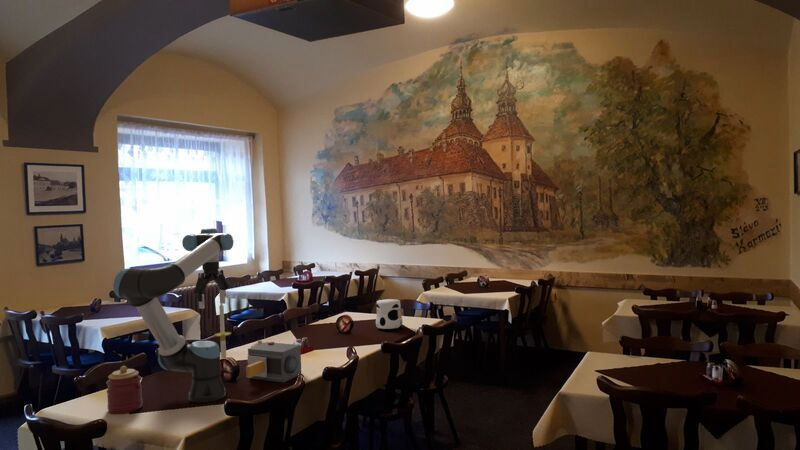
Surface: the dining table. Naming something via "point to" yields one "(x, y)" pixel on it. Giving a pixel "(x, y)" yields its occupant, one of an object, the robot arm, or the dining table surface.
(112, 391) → the canister
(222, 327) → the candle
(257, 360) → the side door
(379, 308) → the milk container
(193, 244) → the robot arm
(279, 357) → the camera body
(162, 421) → the dining table surface
